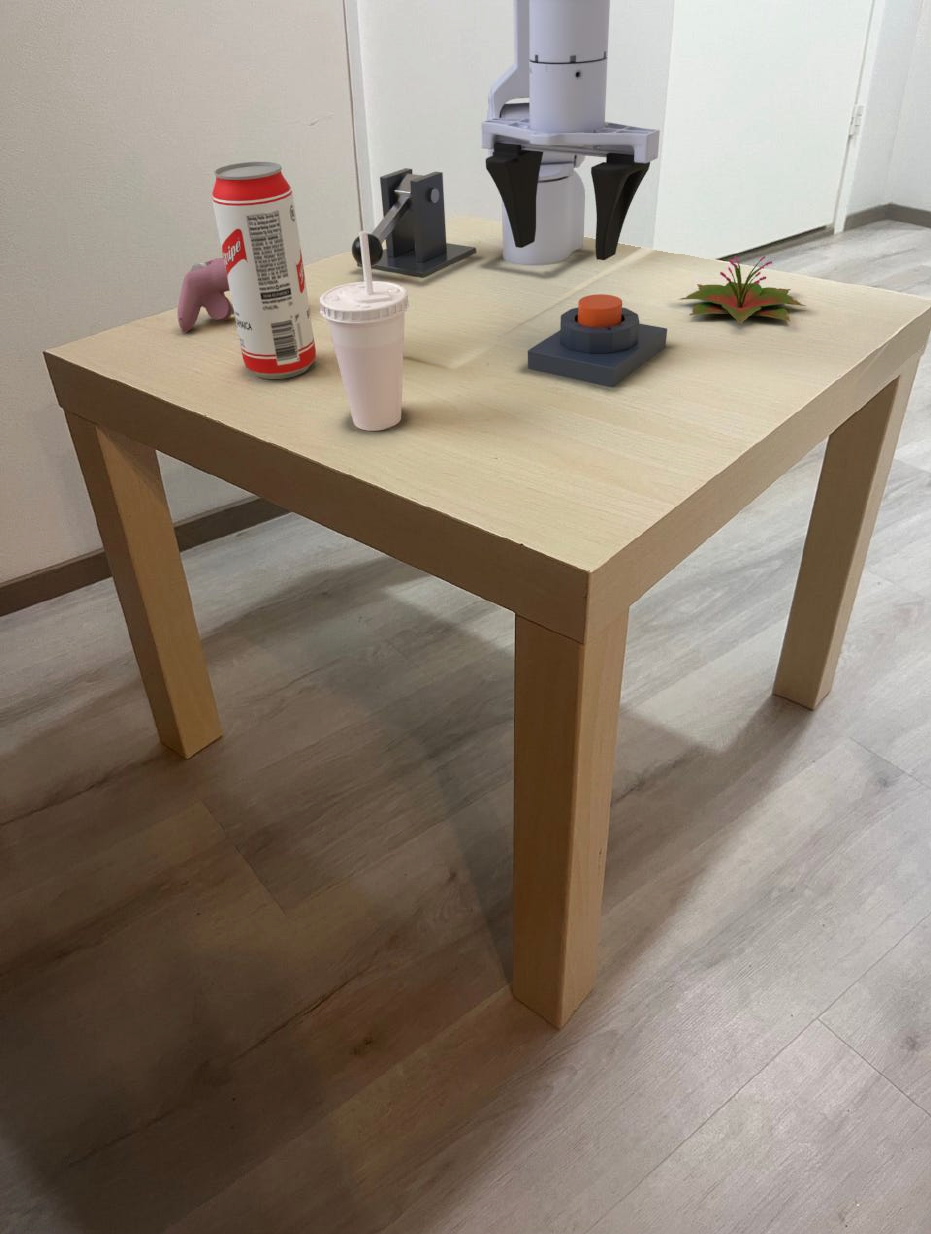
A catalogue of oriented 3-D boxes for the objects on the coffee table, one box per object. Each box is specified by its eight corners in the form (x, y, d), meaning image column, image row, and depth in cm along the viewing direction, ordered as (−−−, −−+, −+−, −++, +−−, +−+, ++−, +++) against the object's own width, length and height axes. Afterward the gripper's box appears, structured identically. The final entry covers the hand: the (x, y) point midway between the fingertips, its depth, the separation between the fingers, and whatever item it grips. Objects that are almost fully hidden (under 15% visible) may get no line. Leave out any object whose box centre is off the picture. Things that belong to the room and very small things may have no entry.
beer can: (257, 388, 78) (219, 183, 68) (236, 363, 83) (197, 167, 73) (328, 372, 80) (300, 170, 71) (303, 349, 85) (274, 156, 75)
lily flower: (681, 285, 94) (686, 238, 91) (806, 291, 91) (815, 242, 88) (669, 328, 85) (674, 277, 82) (807, 335, 82) (817, 283, 79)
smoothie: (386, 445, 69) (365, 249, 60) (318, 428, 72) (289, 238, 63) (434, 412, 73) (421, 224, 64) (368, 396, 76) (348, 214, 67)
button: (590, 312, 80) (591, 291, 79) (628, 319, 78) (629, 298, 77) (569, 325, 78) (570, 304, 77) (608, 333, 76) (609, 311, 75)
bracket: (423, 284, 98) (416, 189, 92) (357, 272, 102) (347, 181, 97) (476, 258, 104) (473, 168, 99) (412, 248, 109) (406, 161, 103)
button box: (585, 331, 85) (586, 293, 83) (665, 347, 81) (669, 307, 79) (527, 369, 79) (527, 329, 77) (612, 388, 75) (614, 346, 73)
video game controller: (288, 335, 92) (286, 260, 91) (274, 329, 88) (272, 251, 86) (192, 335, 93) (188, 262, 92) (173, 330, 89) (169, 252, 87)
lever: (376, 275, 96) (365, 250, 93) (353, 271, 97) (341, 246, 95) (436, 199, 100) (426, 172, 97) (412, 195, 101) (402, 169, 99)
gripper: (456, 63, 69) (464, 251, 77) (633, 70, 62) (621, 276, 71) (507, 51, 74) (510, 230, 82) (677, 56, 67) (662, 252, 75)
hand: (564, 250), depth 77 cm, fingers open, 7 cm apart
